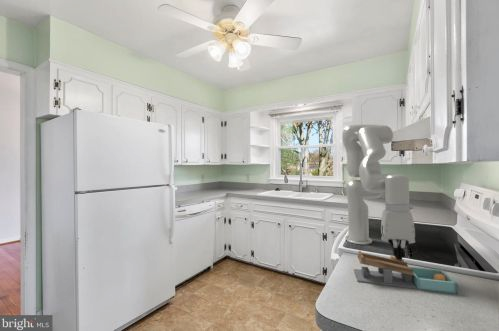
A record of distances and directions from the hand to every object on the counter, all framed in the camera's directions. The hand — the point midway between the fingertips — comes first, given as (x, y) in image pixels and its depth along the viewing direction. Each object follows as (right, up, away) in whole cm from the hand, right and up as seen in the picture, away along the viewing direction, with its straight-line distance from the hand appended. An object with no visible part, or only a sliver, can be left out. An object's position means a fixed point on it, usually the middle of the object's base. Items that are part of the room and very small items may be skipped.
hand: (398, 257), depth 86 cm
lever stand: (-8, -5, -6) cm, 11 cm away
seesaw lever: (-8, -1, -3) cm, 8 cm away
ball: (+7, -3, -10) cm, 13 cm away
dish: (+4, -5, -10) cm, 12 cm away
